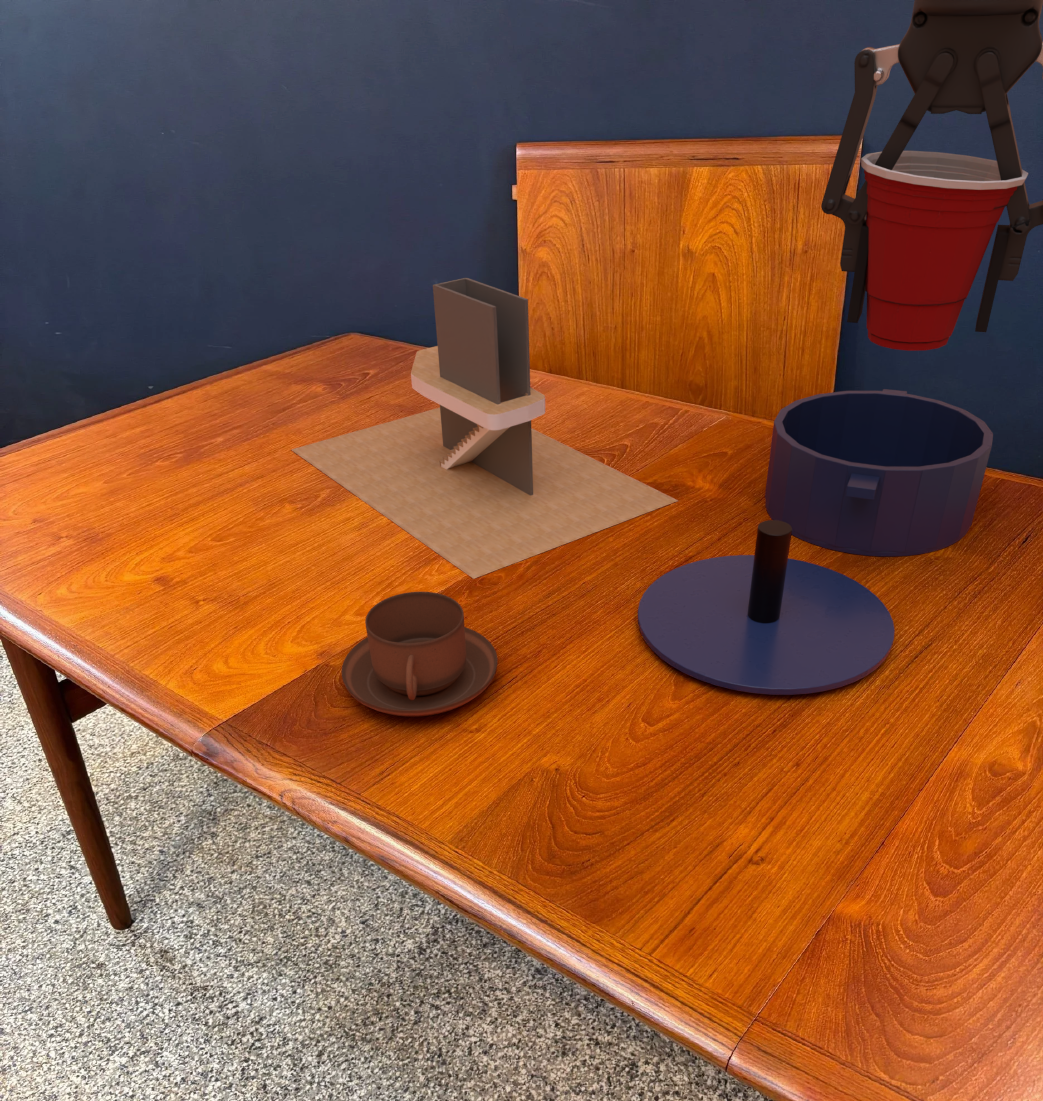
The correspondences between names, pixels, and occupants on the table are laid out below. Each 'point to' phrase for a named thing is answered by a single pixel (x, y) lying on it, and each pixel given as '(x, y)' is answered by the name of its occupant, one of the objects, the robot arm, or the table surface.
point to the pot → (876, 471)
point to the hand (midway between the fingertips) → (916, 321)
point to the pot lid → (766, 621)
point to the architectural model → (480, 448)
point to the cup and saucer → (418, 657)
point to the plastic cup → (927, 242)
